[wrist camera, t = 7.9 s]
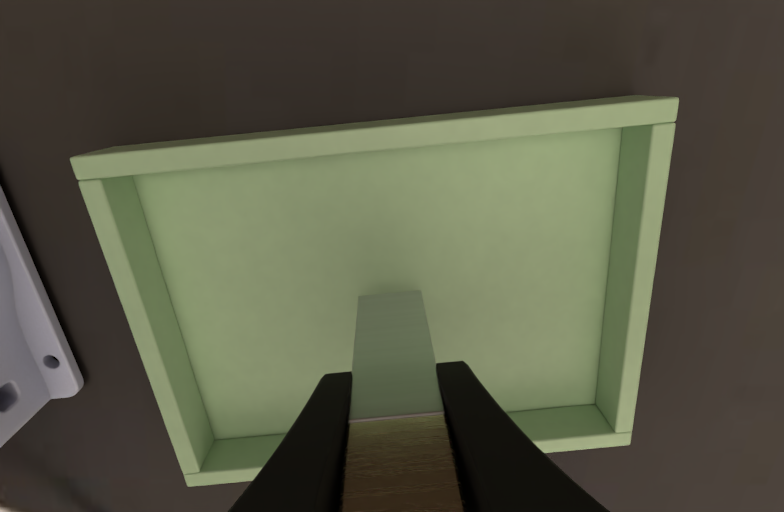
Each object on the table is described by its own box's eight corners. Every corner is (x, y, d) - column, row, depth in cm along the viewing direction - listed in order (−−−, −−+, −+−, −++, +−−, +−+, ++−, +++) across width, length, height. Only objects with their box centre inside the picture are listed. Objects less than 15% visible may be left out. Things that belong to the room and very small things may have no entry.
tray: (602, 405, 17) (631, 445, 15) (208, 443, 17) (187, 487, 15) (636, 94, 13) (681, 96, 11) (112, 146, 13) (67, 157, 11)
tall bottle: (426, 354, 13) (521, 896, 4) (366, 360, 13) (344, 912, 4) (421, 289, 12) (527, 794, 4) (358, 295, 12) (308, 813, 4)
